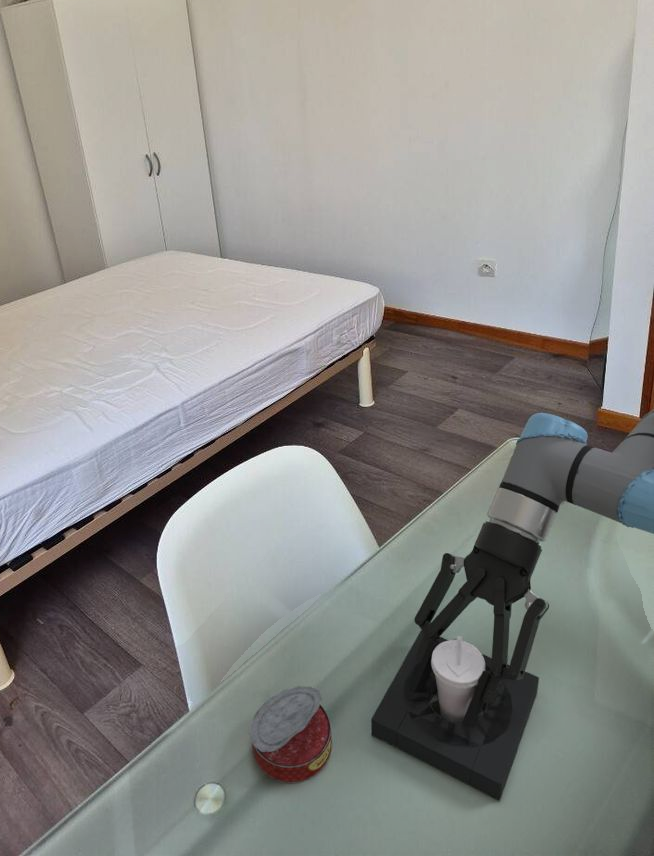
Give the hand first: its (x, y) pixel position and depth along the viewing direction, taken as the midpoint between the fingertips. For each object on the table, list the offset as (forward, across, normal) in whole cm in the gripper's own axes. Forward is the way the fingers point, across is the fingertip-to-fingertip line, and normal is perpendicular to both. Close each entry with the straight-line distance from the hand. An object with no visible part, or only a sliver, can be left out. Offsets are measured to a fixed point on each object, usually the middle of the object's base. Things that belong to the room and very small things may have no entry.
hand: (441, 707), depth 83 cm
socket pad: (+1, 0, -6) cm, 6 cm away
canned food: (+13, +13, +6) cm, 19 cm away
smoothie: (+1, 0, -6) cm, 6 cm away
